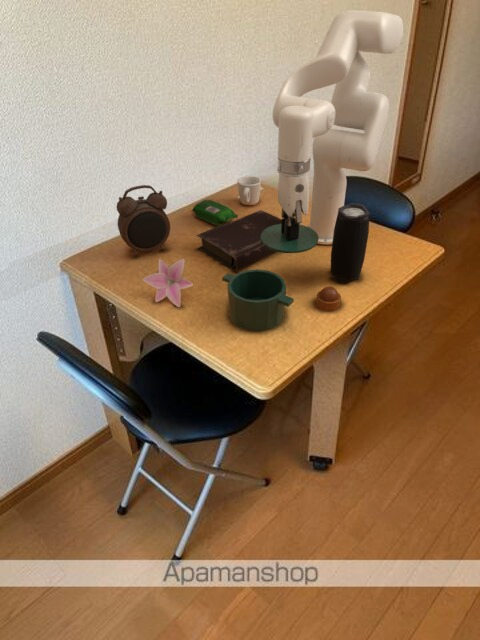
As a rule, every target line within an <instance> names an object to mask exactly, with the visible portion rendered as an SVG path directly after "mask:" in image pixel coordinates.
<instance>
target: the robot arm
mask: <svg viewBox="0 0 480 640" xmlns="http://www.w3.org/2000/svg"><path fill="white" fill-rule="evenodd" d="M403 36H404V22H403V20H402V18H401V16H399V15H397V14H393V13H390V12H385V11H380V10H379V11H378V10H376V11H375V10H361V9H360V10H359V9H358V10H357V9H349V10H348V9H347V10H343V11H340V12H339V13H337V14H336V15H335V17H333V19H332V21H331V23H330V25H329V28H328V29H327V32H326V34H325V36H324V39H323V41H322V43H321V45H320V47H319V49H318V52H317V54H316V56H315V57H314V58H313V59H311V60H309V61H307V62H306V63H305V64H303V65H301V66H300V67H299V68H298V69H296V70H295V71H293V72H292V73H291V74H290V75H289V76H288V77H287V78H286V80H285V81H284V82H283V84H282V86H281V88H280V91H279V92H278V95H277V97H276V99H275V103H274V105H273V108H272V120H273V123H274V125H275V127H277V128H278V135H277V136H278V137H277V161H276V162H277V163H276V164H277V165H276V172H277V173H278V184H277V201H278V202H277V203H278V204H279V205H280V207H281V220H282V224H281V232H282V234H284V227H285V219H287V218H288V225H286V240H294V239H298V237H299V225H301V224H302V223H303V215H304V216H307V215H308V213H309V203H310V201H309V200H310V183H309V182H310V181H309V175H308V174H310V171H311V156H312V159H313V181H312V191H311V192H312V194H311V204H310V206H311V207H310V218H309V219H310V220H309V225H306V227H309V228H311V229H313V230H314V231H315V232H316V233H317V234H318V237H319V239H318V243H317V245H324V246H325V245H328V246H329V245H332V242H333V234H334V227H335V223H336V219H337V215H338V208H340V207H342V206H345V202H346V201H345V200H346V194H347V193H346V191H347V183H348V182H347V181H348V180H347V175H346V173H345V170H344V169H346V170H352V171H356V172H357V171H358V172H368V171H369V170H371V169H372V168H373V166H374V164H375V162H376V159H377V156H378V154H379V153H378V152H379V150H380V146H381V144H382V143H381V142H382V139H383V136H384V133H385V130H386V129H385V128H386V125H387V123H388V122H387V121H388V117H389V113H390V102H389V99H388V97H387V95H385V94H383V93H380V92H374V91H367V90H368V87H369V83H370V80H371V71H370V68H369V65H368V63H367V61H366V59H365V58H364V56H363V54H362V53H373V54H375V53H378V54H383V55H385V54H386V55H387V54H389V55H390V54H393V53H394V52H395V51H397V49H398V48H399V47H400V45H401V43H402V40H403ZM361 52H362V53H361ZM332 85H335V86H334V89H333V93H332V96H331V98H330V99H331V100H330V101H328V100H325V99H320V98H313V97H312V98H311V97H304V95H305V94H307V93H310V92H312V91H315V90H319V89H323V88H326V87H330V86H332ZM334 126H336V127H340V128H347V129H353V130H359V131H364V132H363V133H362V132H356V131H349V130H344V129H336V128H332V127H334ZM302 214H303V215H302ZM291 218H294V219H292V220H291Z"/></svg>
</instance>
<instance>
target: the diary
mask: <svg viewBox="0 0 480 640" xmlns="http://www.w3.org/2000/svg"><path fill="white" fill-rule="evenodd" d="M277 224H282V218H279V217H278V216H275V215H274V214H271V213H269V212H266V211H264V210H260V209H259V210H257V211H255V212H252V213H249V214H248V215H244V216H242V217H240V218H237V219H235V220H232V221H229V222H226V223H224V224H223V225H221V226H215V227H212V228H209V229H207V230H205V231H203V232H200V233H198V234H197V235H196V237H199V238H200V239H201V246H199V247H197V249H198V250H200V252H203V253H205V255H208V257H211V258H212V259H214V260H215V261H217V262H219V263H220V264H222V265H224V266H225V267H227V268H229V269H231V270H232V271H234V272H238V271H240V270H242V269H243V268H245V267H247V266H249V265H251V264H253V263H256V262H258V261H260V260H262V259H265V258H267V257H269V256H271V255H273V254H275V253H276V252H277V251H274V250H271V249H269V248H267V247H266V246H265V245H264V244H263V243H262V241H261V234H262V232H263V231H264V230H265V229H266V228H268V227H270V226H273V225H277ZM277 253H278V252H277Z"/></svg>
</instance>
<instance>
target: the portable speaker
mask: <svg viewBox="0 0 480 640" xmlns="http://www.w3.org/2000/svg"><path fill="white" fill-rule="evenodd" d="M370 217H371V212H370V211H369V210H368V209H367V207H366V206H365V205H364V204H361V203H358V202H357V203H354V202H352V203H348V204H344V206H342V207H340V208H338V215H337V219H336V223H335V227H334V234H333V242H332V244H331V251H330V259H329V260H330V273H331V276H332V279H333V280H334V281H335V282H337V283H339V284H347V283H349V282H351V281H354V280H357V281H358V280H360V276H361V273H362V269H363V266H364V261H365V257H366V252H367V244H368V240H369V232H370Z"/></svg>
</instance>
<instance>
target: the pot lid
mask: <svg viewBox="0 0 480 640" xmlns="http://www.w3.org/2000/svg"><path fill="white" fill-rule="evenodd" d="M294 218H295V217H294ZM294 218H291V220H292V219H294ZM286 225H288V218H287V219H285V227H284V234H282V232H281V224H277V225H273V226H270V227H268V228H266V229H265V230H264V231H263V232H262V234H261V241H262V243H263V244H264V245H265V246H266V247H267V248H269V249H271V250H274V251H277V253H283V254H299V253H305V252H307V251H310V250H313V249H314V248H315V247H316V246H317V245H318V244H317V243H318V239H319V237H318V234H317V233H316V232H315V231H314V230H313V229H311V228H309V227H307V225H303V224H300V225H299V237H298V239H294V240H286Z"/></svg>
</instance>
